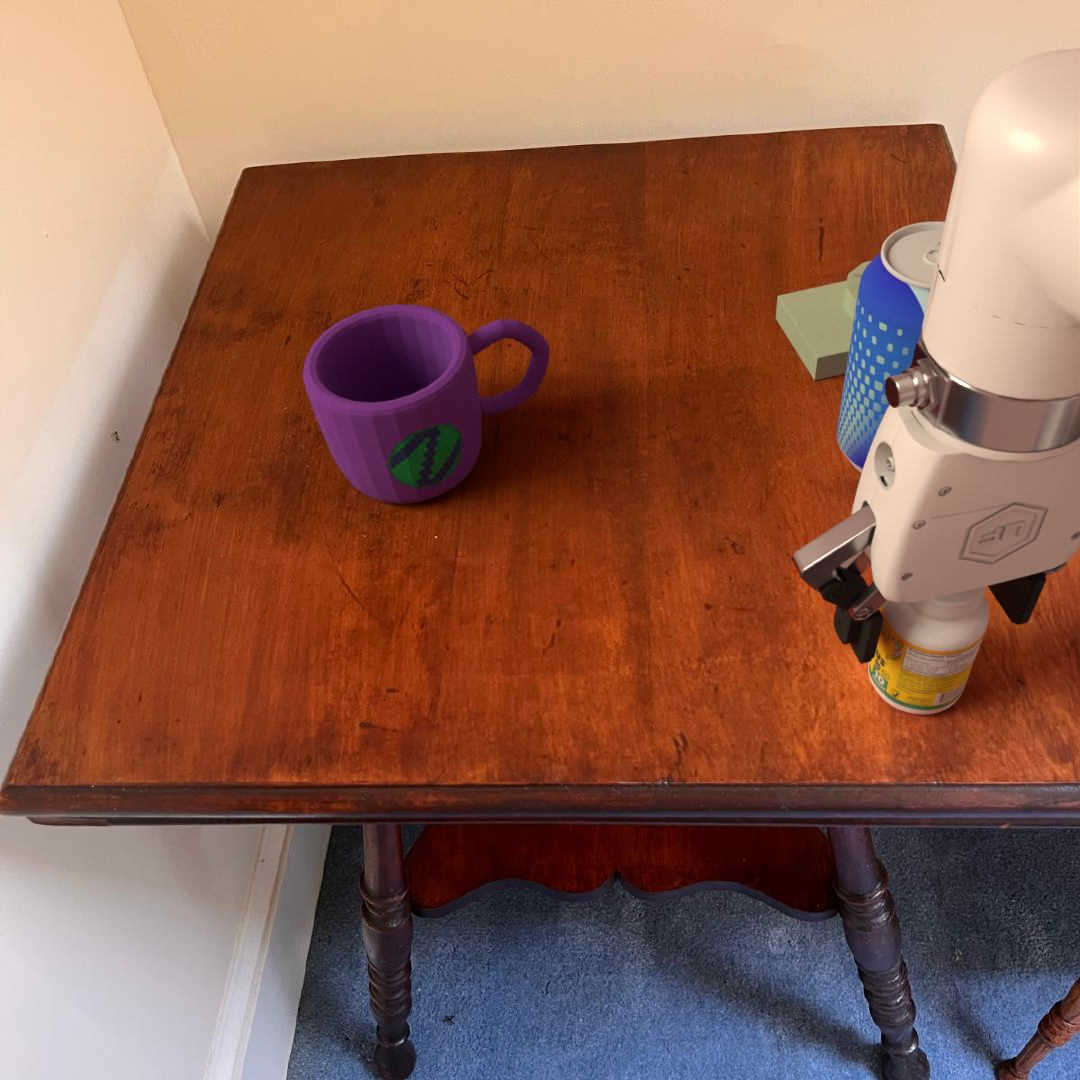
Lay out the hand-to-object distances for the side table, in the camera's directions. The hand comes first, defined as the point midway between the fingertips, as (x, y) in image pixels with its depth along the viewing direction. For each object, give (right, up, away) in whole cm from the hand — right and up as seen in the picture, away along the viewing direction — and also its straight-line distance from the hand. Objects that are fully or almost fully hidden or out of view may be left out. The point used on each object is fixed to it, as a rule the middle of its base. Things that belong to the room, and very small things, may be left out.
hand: (930, 621), depth 56 cm
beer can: (+4, +10, +16) cm, 20 cm away
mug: (-28, +11, +21) cm, 37 cm away
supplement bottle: (+1, -4, +4) cm, 6 cm away
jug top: (+4, +20, +24) cm, 32 cm away
